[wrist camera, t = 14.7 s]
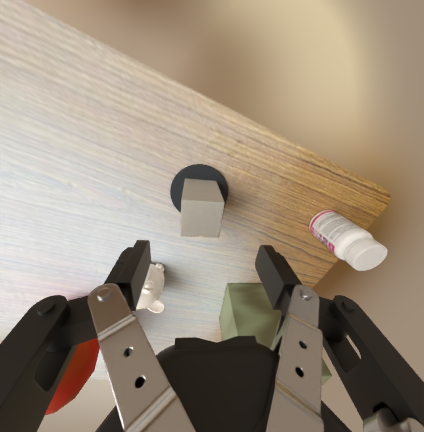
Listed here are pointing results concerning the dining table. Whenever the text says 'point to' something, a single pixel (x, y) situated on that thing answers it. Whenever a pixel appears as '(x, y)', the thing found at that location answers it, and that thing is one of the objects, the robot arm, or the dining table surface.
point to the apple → (75, 374)
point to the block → (201, 208)
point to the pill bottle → (347, 240)
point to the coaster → (196, 173)
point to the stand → (252, 316)
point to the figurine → (152, 289)
